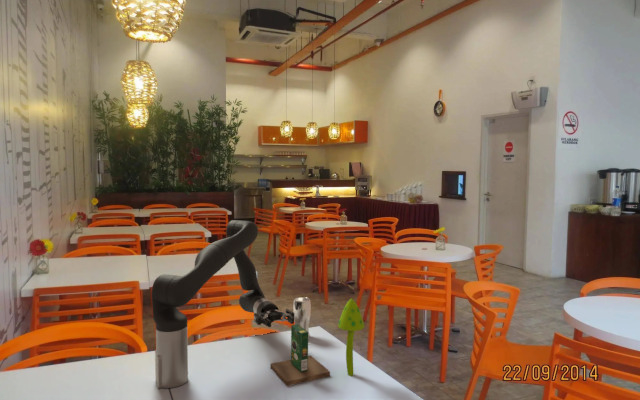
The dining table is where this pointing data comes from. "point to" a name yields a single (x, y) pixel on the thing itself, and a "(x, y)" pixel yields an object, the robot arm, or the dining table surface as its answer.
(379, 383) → the dining table surface
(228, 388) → the dining table surface
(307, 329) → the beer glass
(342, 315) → the mushroom
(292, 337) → the coffee box
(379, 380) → the dining table surface
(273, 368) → the walnut board
